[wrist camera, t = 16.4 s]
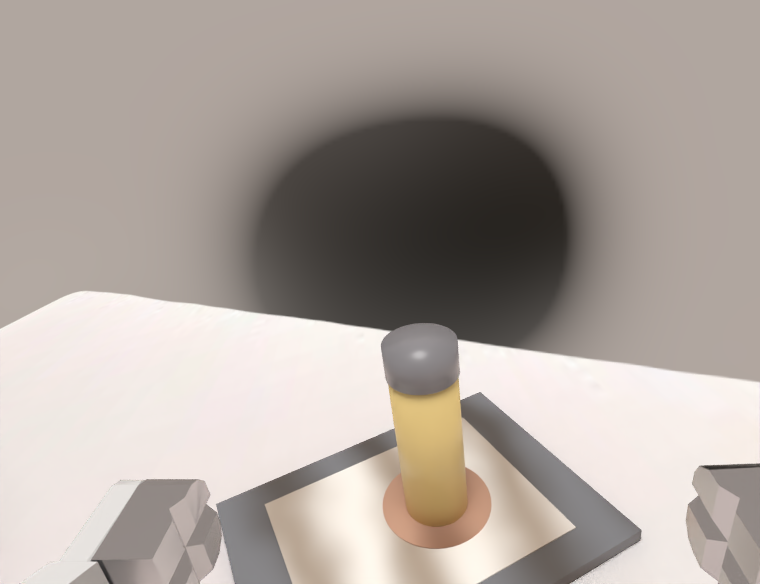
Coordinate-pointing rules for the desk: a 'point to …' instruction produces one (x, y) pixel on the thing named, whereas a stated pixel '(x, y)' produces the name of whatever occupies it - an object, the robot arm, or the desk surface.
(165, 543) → the robot arm
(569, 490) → the grey metal tray
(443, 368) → the marker
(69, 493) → the desk surface
